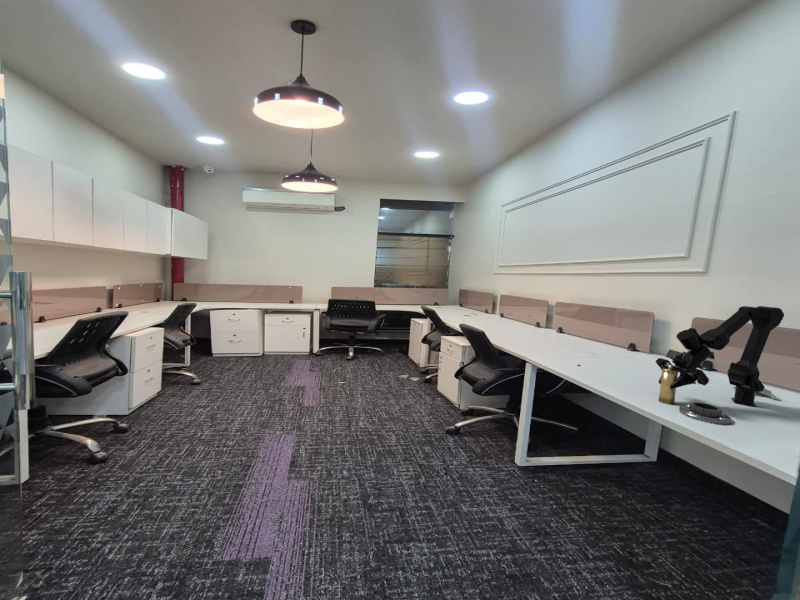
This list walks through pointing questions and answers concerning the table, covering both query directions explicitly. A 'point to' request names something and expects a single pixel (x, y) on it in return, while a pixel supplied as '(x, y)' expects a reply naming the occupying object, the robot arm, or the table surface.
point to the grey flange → (705, 413)
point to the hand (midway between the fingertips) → (664, 385)
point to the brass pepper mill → (668, 385)
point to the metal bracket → (767, 393)
